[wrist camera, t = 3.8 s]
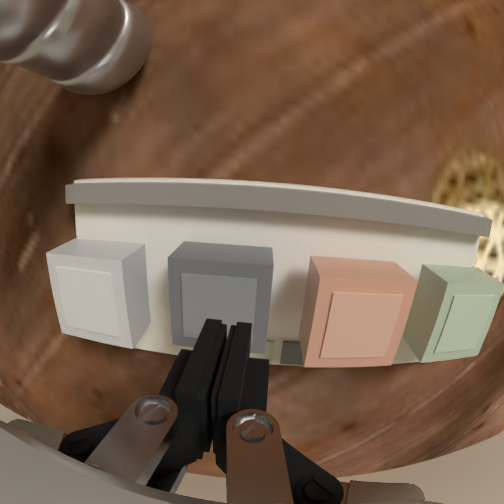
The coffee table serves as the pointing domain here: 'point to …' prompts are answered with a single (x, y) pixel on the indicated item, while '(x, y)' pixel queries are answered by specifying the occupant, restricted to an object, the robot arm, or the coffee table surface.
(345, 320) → the key terracotta
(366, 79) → the coffee table surface
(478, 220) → the keyboard base
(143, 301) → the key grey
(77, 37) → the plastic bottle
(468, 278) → the key sage
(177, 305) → the key charcoal
